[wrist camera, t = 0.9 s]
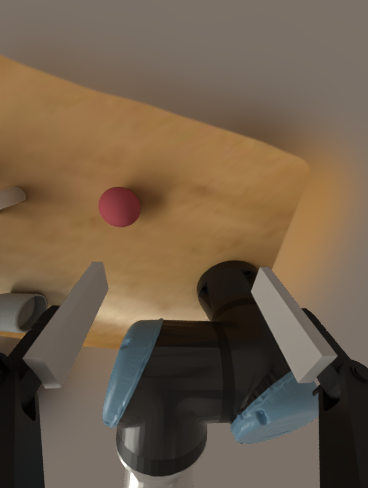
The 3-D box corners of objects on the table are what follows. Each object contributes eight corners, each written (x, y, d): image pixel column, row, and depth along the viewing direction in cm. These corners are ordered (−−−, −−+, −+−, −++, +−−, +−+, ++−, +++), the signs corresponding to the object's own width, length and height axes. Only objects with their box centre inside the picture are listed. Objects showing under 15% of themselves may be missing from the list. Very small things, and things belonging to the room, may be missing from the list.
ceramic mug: (0, 285, 36) (-38, 317, 30) (40, 286, 37) (11, 317, 30) (21, 316, 42) (-7, 349, 35) (56, 316, 42) (34, 348, 36)
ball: (149, 210, 29) (144, 223, 24) (121, 223, 31) (109, 239, 25) (130, 177, 27) (119, 184, 21) (99, 193, 28) (81, 204, 23)
